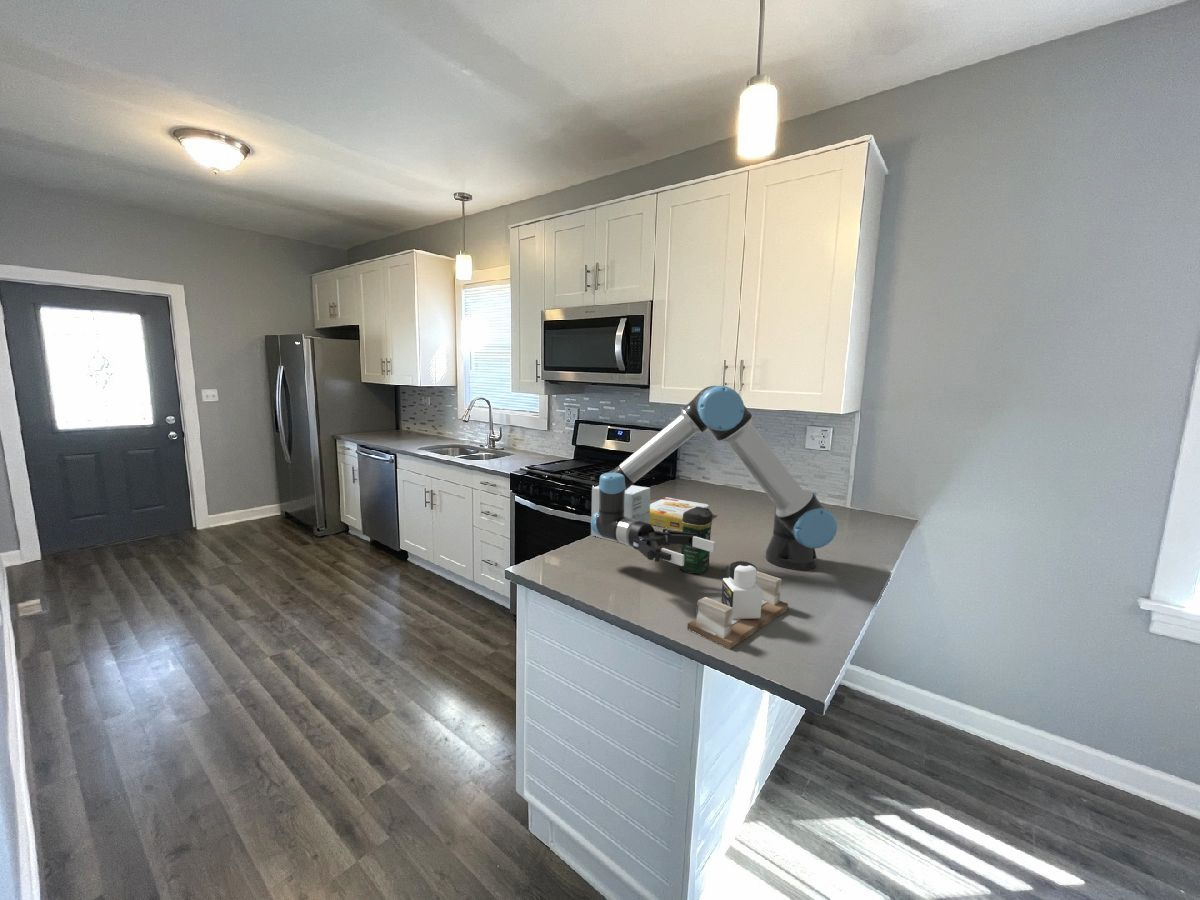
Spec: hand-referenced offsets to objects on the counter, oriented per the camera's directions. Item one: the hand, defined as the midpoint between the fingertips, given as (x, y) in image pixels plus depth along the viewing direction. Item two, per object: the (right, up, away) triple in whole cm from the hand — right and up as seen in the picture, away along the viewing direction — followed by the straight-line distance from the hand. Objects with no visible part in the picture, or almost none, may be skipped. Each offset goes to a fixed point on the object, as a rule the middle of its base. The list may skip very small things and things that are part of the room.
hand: (699, 553), depth 121 cm
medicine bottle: (+8, -13, -6) cm, 17 cm away
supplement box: (-18, -5, +52) cm, 55 cm away
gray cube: (+15, -11, +16) cm, 25 cm away
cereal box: (+5, -3, +76) cm, 77 cm away
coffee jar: (+3, -10, +24) cm, 26 cm away
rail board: (+8, -14, -6) cm, 18 cm away
